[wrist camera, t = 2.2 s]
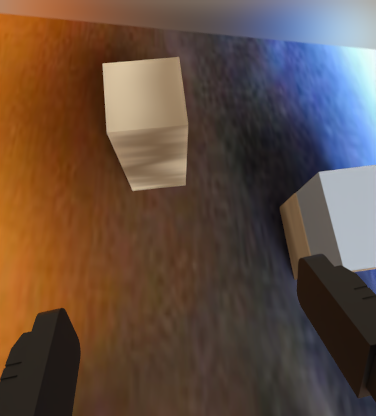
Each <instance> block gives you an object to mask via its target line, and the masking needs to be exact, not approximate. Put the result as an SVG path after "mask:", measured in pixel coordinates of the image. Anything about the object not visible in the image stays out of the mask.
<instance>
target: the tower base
mask: <svg viewBox="0 0 376 416" xmlns="http://www.w3.org/2000/svg"><path fill="white" fill-rule="evenodd" d="M279 208H280V213H281V218H282V222H283V227H284V232H285V237H286V241H287V246H288V251H289V256H290V260H291V265H292V270H293V275H294V279H295V280H296V279H297V277H298V261H299V259H300V258H302V257H307V256H311V253H310V249H309V245H308V240H307V236H306V232H305V228H304V224H303V219H302V215H301V211H300V207H299V203H298V198H297V194H296V193H294V194H293V195H292V196H291V197H290V198H289V199H288V200H287V201H286V202H285V203H284V204H282V205H281V206H280V207H279ZM371 269H376V267H375V268H368V269H361V270H354V271H352V272H356V271H364V270H371Z"/></svg>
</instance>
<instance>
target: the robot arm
mask: <svg viewBox="0 0 376 416" xmlns="http://www.w3.org/2000/svg"><path fill="white" fill-rule="evenodd" d="M297 296H298V300H299V303H300V305H301V307H302V309H303V311H304V312H305V314H306V315H307V317H308V319H309V320H310V322H311V323H312V325H313V327H314V328H315V330H316V331H317V333H318V335H319V336H320V338H321V340H322V341H323V343H324V344H325V346H326V348H327V349H328V351H329V352H330V354H331V356H332V357H333V359H334V360H335V362H336V364H337V365H338V367H339V369H340V370H341V372H342V373H343V375H344V377H345V378H346V380H347V381H348V383H349V385H350V386H351V388H352V389H353V391H354V393H355V394H356V396H357V397H358V398H362V397H366V396H370V395H371V396H372V397H373V399H374V400H375V402H376V295H375V293H374V292H373V291H372V290H371V289H370V288H368V287H367V285H366V284H365V283H364V282H363V281H362V279H361V278H360V277H359V276H358V275H357V274H356V273H354V272H352V271H351V270H349V269H347V268H345V267H344V266H342V265H339V266H335V267H334V265H333V264H332V263H331V262H330V261H329V260H328V258H327V257H326V256H325V255H324V254H316V255H312V256H307V257H302V258H300V259H299V261H298V277H297ZM79 363H80V343H79V339H78V337H77V334H76V332H75V330H74V328H73V326H72V323H71V321H70V319H69V317H68V315H67V312H66V311H65V309H64V308H60V309H55V310H50V311H46V312H41V313H38V315H37V316H36V319H35V322H34V325H33V328H32V332H27V333H23V334H22V335H21V337H20V338H19V339H18V341H17V342H16V343H15V345H14V346H13V347H12V349H11V351H10V354H9V356H8V359H7V362H6V365H5V366H6V368H5V369H4V370H3V373H2V376H1V378H0V380H1V381H0V416H72V411H73V404H74V397H75V390H76V383H77V376H78V369H79Z"/></svg>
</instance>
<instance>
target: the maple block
mask: <svg viewBox="0 0 376 416" xmlns="http://www.w3.org/2000/svg"><path fill="white" fill-rule="evenodd" d="M103 79H104V96H105V113H106V130H107V134H108V137H109V139H110V141H111V143H112V146H113V148H114V150H115V152H116V155H117V157H118V159H119V161H120V164H121V166H122V168H123V170H124V173H125V175H126V177H127V179H128V181H129V184H130V186H131V188H132V190H133V191H135V190H144V189H154V188H163V187H173V186H182V185H186V163H187V140H188V120H187V112H186V105H185V97H184V90H183V83H182V75H181V68H180V60H179V57H174V58H162V59H151V60H139V61H127V62H115V63H103Z"/></svg>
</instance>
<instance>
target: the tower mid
mask: <svg viewBox="0 0 376 416" xmlns="http://www.w3.org/2000/svg"><path fill="white" fill-rule="evenodd" d="M296 194H297V198H298V203H299V207H300V211H301V215H302V219H303V224H304V228H305V232H306V236H307V240H308V245H309V249H310V253H311V256H312V255H316V254H324V255H325V256H326V257H327V258H328V260H329V261H330V262H331V263H332V264H333V265H334V267H335V266H339V265H342V266H344V267H345V268H347V269H349V270H351V271H354V270H361V269H368V268H375V267H376V165H371V166H363V167H355V168H347V169H339V170H331V171H322V172H318V173H317V174H316V175H315V176H314V177H313V178H311V179H310V180H309V181H308V182H307V183H306V184H305V185H304V186H303V187H302V188H301V189H299V190H298V191H297V192H296Z"/></svg>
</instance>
